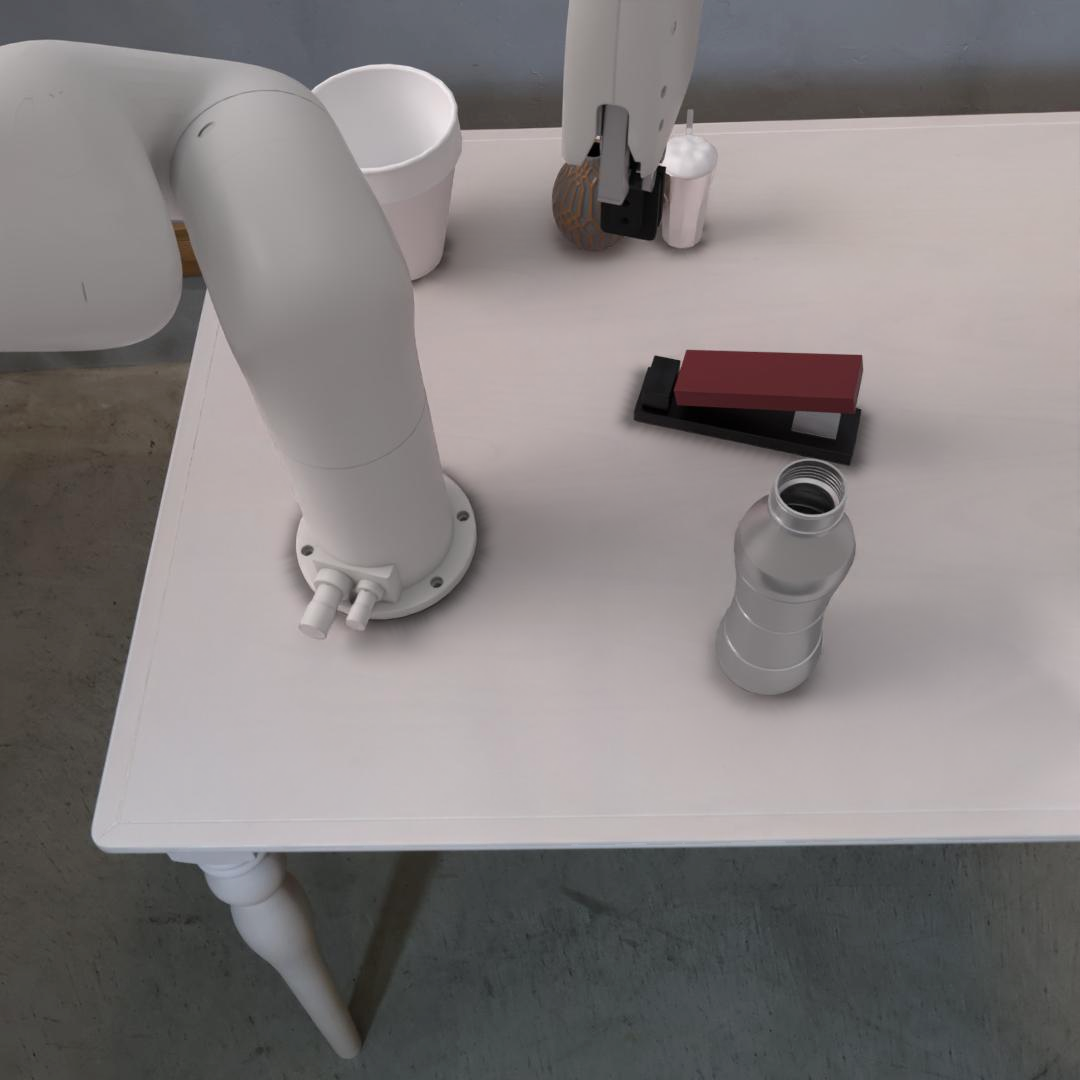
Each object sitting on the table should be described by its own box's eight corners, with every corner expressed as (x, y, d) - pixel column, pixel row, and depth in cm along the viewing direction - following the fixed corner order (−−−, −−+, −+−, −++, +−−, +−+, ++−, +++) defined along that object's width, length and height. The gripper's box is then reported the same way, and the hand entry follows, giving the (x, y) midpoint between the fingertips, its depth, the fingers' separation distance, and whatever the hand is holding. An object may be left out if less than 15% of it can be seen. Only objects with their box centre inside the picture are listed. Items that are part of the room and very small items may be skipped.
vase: (540, 220, 96) (535, 134, 88) (614, 196, 97) (615, 109, 89) (573, 273, 92) (570, 189, 85) (649, 248, 93) (654, 162, 86)
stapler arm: (863, 370, 78) (862, 354, 77) (854, 414, 77) (853, 398, 75) (689, 364, 83) (686, 349, 82) (677, 405, 81) (673, 390, 80)
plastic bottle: (836, 674, 73) (907, 503, 56) (748, 724, 71) (794, 565, 54) (776, 598, 76) (827, 415, 59) (692, 645, 74) (718, 470, 57)
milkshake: (709, 210, 95) (720, 110, 87) (708, 255, 93) (719, 157, 84) (656, 208, 96) (661, 108, 87) (653, 253, 93) (658, 155, 84)
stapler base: (858, 418, 83) (867, 392, 81) (849, 465, 81) (857, 440, 78) (647, 376, 86) (649, 349, 84) (633, 420, 84) (634, 394, 81)
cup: (311, 228, 96) (271, 91, 85) (445, 185, 98) (424, 45, 87) (356, 326, 90) (320, 192, 79) (498, 277, 92) (483, 140, 81)
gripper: (609, -193, 53) (602, 133, 69) (511, -12, 46) (528, 307, 61) (767, -174, 52) (723, 154, 67) (693, 16, 44) (663, 335, 60)
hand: (630, 226), depth 64 cm, fingers closed
